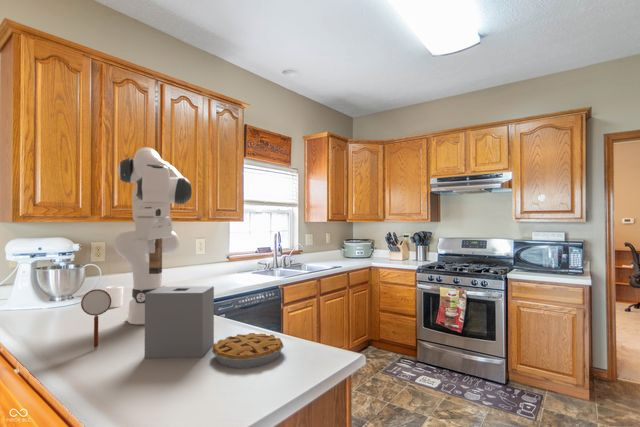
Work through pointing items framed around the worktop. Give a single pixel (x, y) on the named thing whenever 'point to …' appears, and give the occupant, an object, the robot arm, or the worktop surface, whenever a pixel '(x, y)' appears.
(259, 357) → the pie
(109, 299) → the magnifying glass
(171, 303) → the grey tissue box
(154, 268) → the long brown rectangular block
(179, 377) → the worktop surface
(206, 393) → the worktop surface
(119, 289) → the white cup
